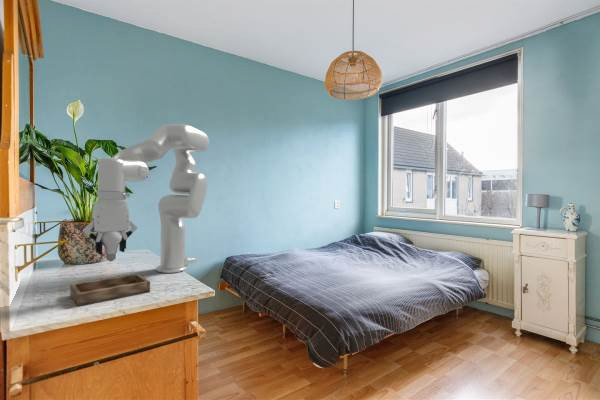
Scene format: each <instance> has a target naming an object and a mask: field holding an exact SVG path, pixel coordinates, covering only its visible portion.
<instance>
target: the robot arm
mask: <svg viewBox="0 0 600 400" xmlns="http://www.w3.org/2000/svg"><path fill="white" fill-rule="evenodd" d="M209 147H210V138H209V136H208V135H207V133H205V132H204V131H202V130H200V129H198V128H196V127H194V126H192V125H189V124H185V123H170V124H169V123H167V124H163V125H162V126H160V127H158V129H157V130H155V131H154V132H153V133H151V134H150V136H148V137H147V138H145V139H144V140H143V141H140V142H138V143H136V144H133V145H131V146H128V147H125V148H124V149H121V150H120V151H119V152H117V153H116V154H114V155H113V156H111V157H103V158H101V157H100V159H99V160H97V161H98V162H97V200H94V203H93V207H92V214H91V222H90V223H89V224H88V225H87V226H86V227H84V228H83V230H82V232H83V233H84V234H86V235H87V236H89V238H91V239H92V240H93V241H95V244H94V245H95V247H94V248H95V249H94V250H95V252H96V253H97V254H98V255H102V254H103V244H102V242H101V238H102V235H103V233H106V232H110V231H119V232H121V234H122V240H121V242H120V243H119V245H118V248H119V249H118V250H119V252H121V253H125V250H127V240H128V238H130V236H131V235H132V234H133V233H135V231H137V230H138V227H137V226H136V225H135V224H134V223H133V222H132V221H131V220H130V218H131V217H130V211H129V204H128V201H127V200H126V199H127V198H130V197H131V195H130V193H129V192H128V193H127V192H126V183H127V182H129V183H140V182H144V181H145V180H147V178H148V176H149V174H150V173H149V172H150V169H149V167H148V165H147V164H146V163H151V162H155V161H157V160H160V159H162V158H164V156H165V155H166V154H167V153H168V152H169V151H170V150H171V149H172V152H173V153H174V156H175V165H174V168H173V171H172V174H171V177H170V180H169V190H170V191H171V192H172V193H173V194H166V195H163V196H162V197H161V198H160V199H159V200H158V205H157V209H158V212H159V213H158V214H159V220H160V252H159V253H160V256H159V257H160V261H159V262H160V264H159V265H157V266H156V267H155V271H156V272H158V273H162V274H165V273H166V274H169V273H170V274H172V273H180V272H184V271H187V270H188V269H189V265H188V264H189V263H195V262H196V257H192V258H191V257H185V248H186V247H185V245H186V243H185V242H186V226H185V223H184V221H183V220H182V219H195V218H198V217H199V216H200V214H201V212H202V209H203V205H204V201H205V198H206V195H207V190H208V180H207V177H206V176H205V175H204V173H201V172H196V167H197V163H196V161H195V159H194V157H193V156H192V154H191V153H194V152H195V153H202V152H205V151H207V150H208V148H209ZM92 231H93V232H95V234H94V233H93V232H92Z"/></svg>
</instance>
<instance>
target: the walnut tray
mask: <svg viewBox="0 0 600 400" xmlns="http://www.w3.org/2000/svg"><path fill="white" fill-rule="evenodd" d="M69 287H70V289H69V290H70V291H69V295H70V298H71V299H72V300H73V302H74V303H75V305H76V306H77V307H81V306H87V305H91V304H97V303H101V302H106V301H108V302H109V301H112V300H116V299H122V298H126V297H131V296H136V295H141V294H146V293H150V292H151V281H150V280H149V279H147V278H145V277H144V276H142V275H141V274H140V273H134V274H128V275H122V276H116V277H109V278H102V279H97V280H91V281H84V282H77V283H71V284H69Z"/></svg>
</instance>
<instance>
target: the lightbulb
mask: <svg viewBox="0 0 600 400" xmlns="http://www.w3.org/2000/svg"><path fill="white" fill-rule="evenodd" d="M121 240H122V234H121V232H119V231H110V232H106V233H103V235H102V238H101V242H102V246H103V247H104V252H105V255H106V260H107V261H108V262H113V261H115V259H117V258H116V256H117V253H118V248H119V243H120V242H121Z"/></svg>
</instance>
